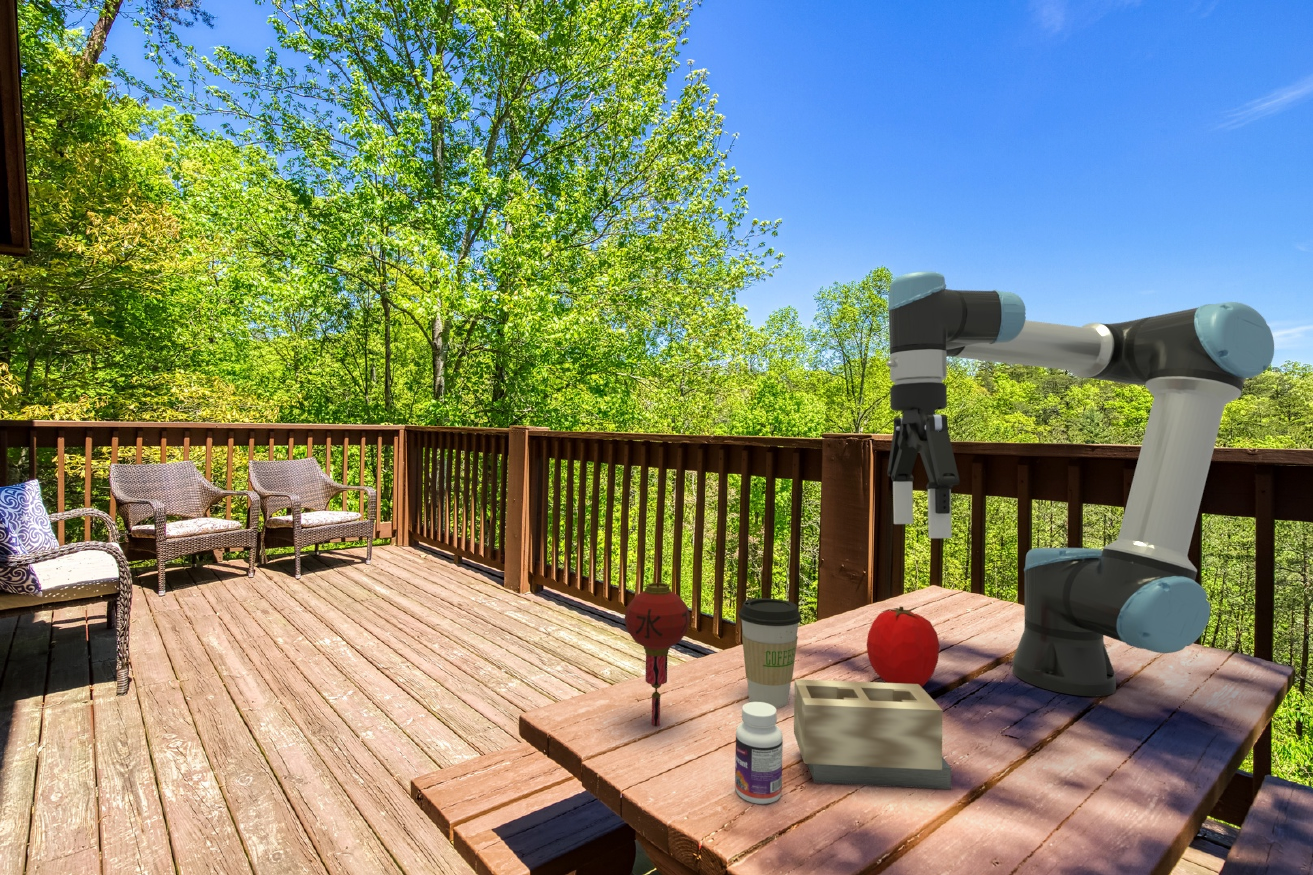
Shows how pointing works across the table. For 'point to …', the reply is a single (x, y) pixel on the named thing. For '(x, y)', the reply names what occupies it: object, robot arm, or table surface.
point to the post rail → (882, 776)
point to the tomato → (903, 647)
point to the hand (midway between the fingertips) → (920, 530)
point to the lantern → (657, 630)
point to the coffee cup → (769, 648)
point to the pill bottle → (758, 754)
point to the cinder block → (867, 724)
